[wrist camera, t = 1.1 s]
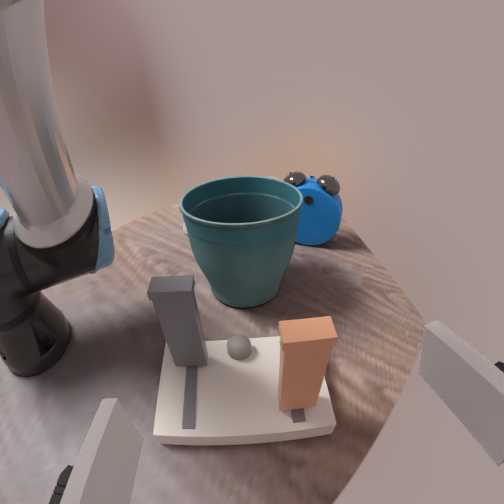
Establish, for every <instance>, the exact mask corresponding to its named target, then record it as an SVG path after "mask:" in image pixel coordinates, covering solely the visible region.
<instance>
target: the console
mask: <svg viewBox="0 0 504 504" xmlns="http://www.w3.org/2000/svg"><path fill="white" fill-rule="evenodd" d="M205 343H206V348H207V352H208V363H207V366H175V363H174V360H173V358H172V355H171V352H170V350H169V347H168V344H167V342H166V344H165V350H164V356H163V363H162V370H161V376H160V383H159V391H158V398H157V406H156V414H155V423H154V432H153V435H154V437H155V438H156V439H157V440H158V441H159V442H160V444H171V445H240V444H256V443H268V442H278V441H287V440H295V439H303V438H309V437H316V436H322V435H327V434H332V432H333V430H334V428H335V426H336V420H335V416H334V412H333V408H332V404H331V400H330V396H329V392H328V388H327V384H326V380H325V376H324V379H323V383H322V386H321V390H320V393H319V396H318V400H317V403H316V406H315V407H308V408H301V409H293V410H284V411H279V403H278V380H279V364H280V345H281V340H280V336H276V337H264V338H251V339H249V338H247V337H246V336H244V335H235V336H232V337H231V338H229V339H228V340H218V341H205Z"/></svg>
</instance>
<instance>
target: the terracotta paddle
mask: <svg viewBox="0 0 504 504" xmlns="http://www.w3.org/2000/svg"><path fill="white" fill-rule="evenodd" d="M279 334H280V340H281V345H280V364H279V380H278V403H279V411H284V410H293V409H301V408H308V407H315V406H316V403H317V400H318V396H319V393H320V390H321V386H322V383H323V379H324V375H325V372H326V368H327V364H328V361H329V357H330V353H331V349H332V345H336V342H337V338H338V336H337V333H336V330H335V327H334V324H333V322H332V319H331V316H324V317H315V318H306V319H296V320H285V321H279Z"/></svg>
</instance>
